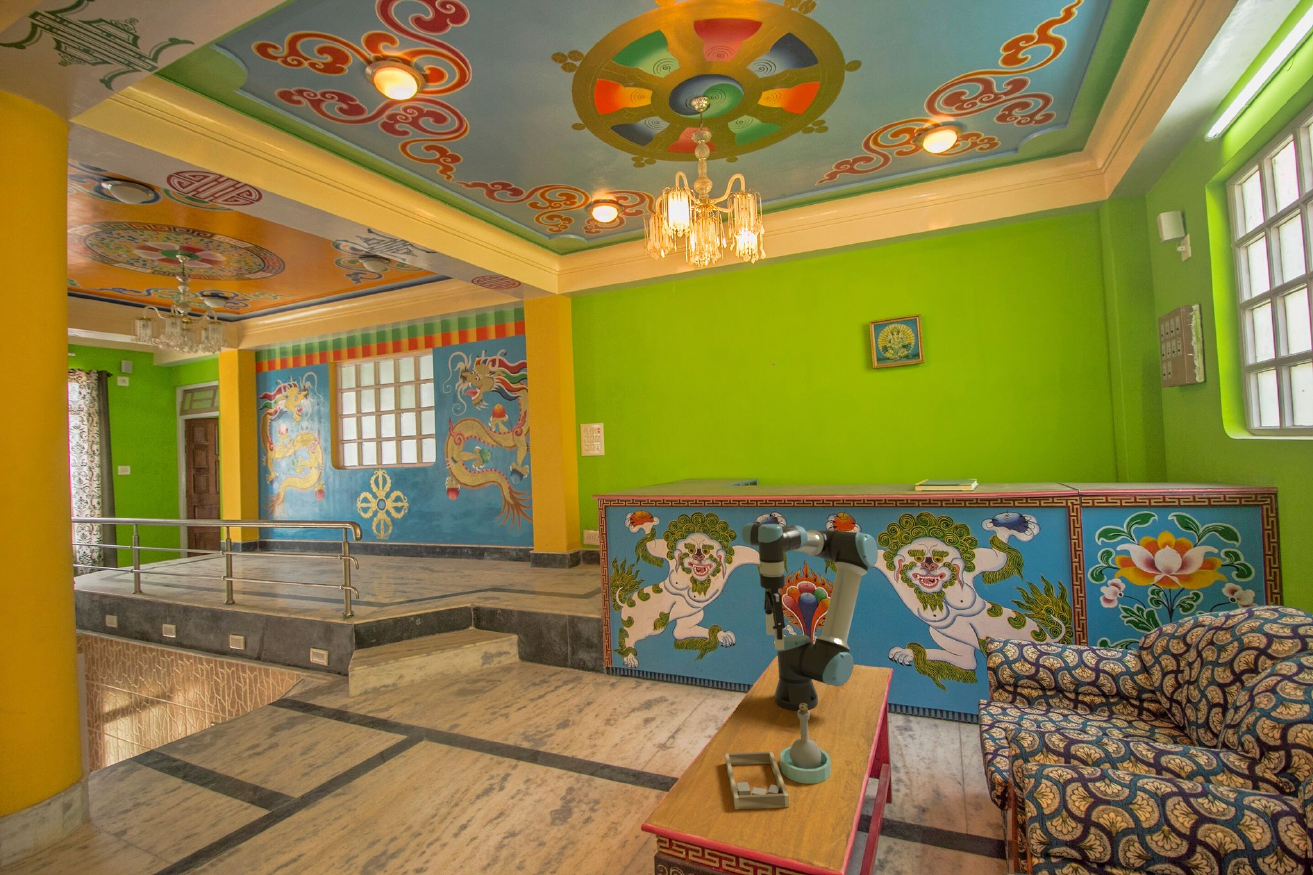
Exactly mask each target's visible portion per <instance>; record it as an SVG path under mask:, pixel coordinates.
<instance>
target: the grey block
mask: <svg viewBox="0 0 1313 875" xmlns="http://www.w3.org/2000/svg"><path fill="white" fill-rule="evenodd" d="M736 788H737V793H738V795H752V791H751V788H750V785H749V783H748V781H743V782H736Z"/></svg>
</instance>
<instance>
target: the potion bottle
mask: <svg viewBox="0 0 1313 875" xmlns="http://www.w3.org/2000/svg"><path fill="white" fill-rule="evenodd" d="M807 706H808V705H807V704H806V703H801V704H800V705H799V710H796V714H797V717H798V719H799V724H800V725H799V729H800V738H797V739H795V740H794V742H793V743H792V745H791V746H792V747H791V751H790V756H791V760H792V762H793V765H794V766H795V767H797V768H802V769H816V768H818V767H820V762H821V752H820V749H821V748H820V747H819V746H818V744H817V742H816V741H815V740H813V739H812V738H809V722H808V721H809V720H810V717H811V711H810V710H809V709H808V707H807ZM819 748H820V749H819Z"/></svg>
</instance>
